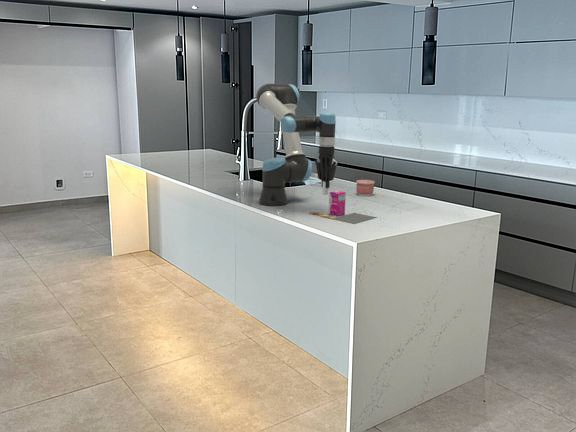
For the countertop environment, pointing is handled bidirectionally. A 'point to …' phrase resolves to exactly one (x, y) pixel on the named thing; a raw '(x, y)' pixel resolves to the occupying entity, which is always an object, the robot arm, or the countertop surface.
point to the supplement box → (337, 203)
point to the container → (365, 187)
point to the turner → (322, 215)
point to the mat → (354, 218)
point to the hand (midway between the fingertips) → (325, 194)
